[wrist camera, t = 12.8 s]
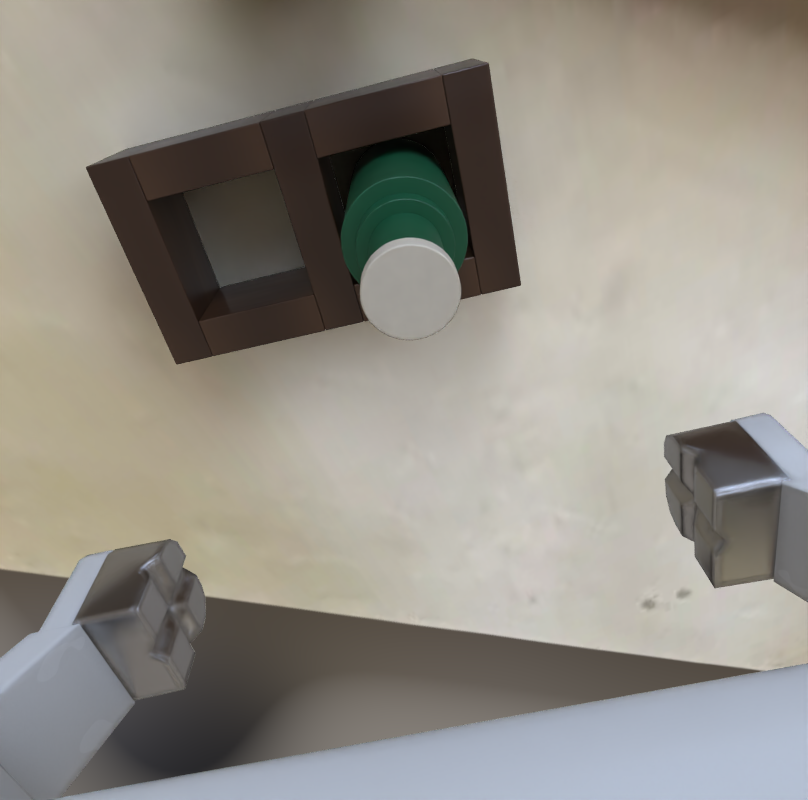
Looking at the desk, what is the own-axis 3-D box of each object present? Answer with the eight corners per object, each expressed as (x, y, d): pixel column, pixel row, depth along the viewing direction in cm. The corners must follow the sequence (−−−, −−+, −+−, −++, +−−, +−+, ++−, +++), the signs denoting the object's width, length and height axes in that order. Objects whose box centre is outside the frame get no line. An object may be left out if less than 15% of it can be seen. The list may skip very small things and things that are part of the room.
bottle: (364, 245, 35) (354, 379, 22) (339, 151, 33) (310, 235, 19) (453, 224, 35) (500, 347, 21) (435, 127, 32) (475, 196, 19)
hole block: (199, 326, 37) (176, 365, 33) (124, 149, 32) (85, 167, 28) (504, 255, 36) (521, 286, 31) (473, 58, 31) (488, 62, 27)
